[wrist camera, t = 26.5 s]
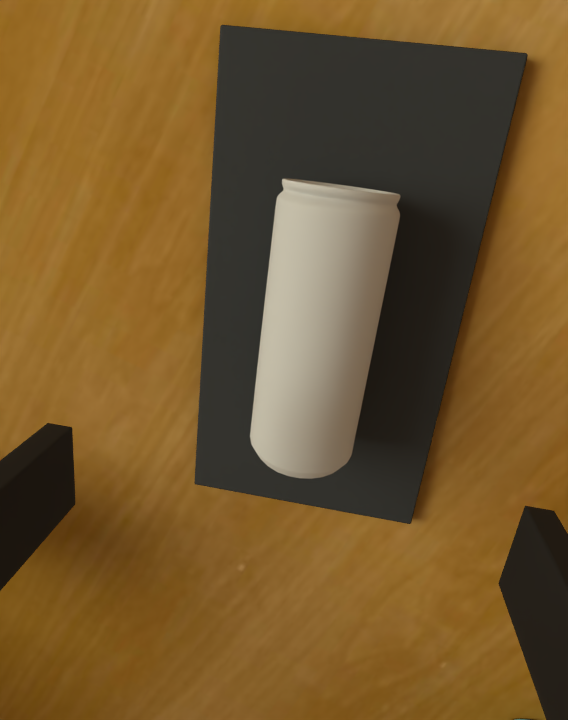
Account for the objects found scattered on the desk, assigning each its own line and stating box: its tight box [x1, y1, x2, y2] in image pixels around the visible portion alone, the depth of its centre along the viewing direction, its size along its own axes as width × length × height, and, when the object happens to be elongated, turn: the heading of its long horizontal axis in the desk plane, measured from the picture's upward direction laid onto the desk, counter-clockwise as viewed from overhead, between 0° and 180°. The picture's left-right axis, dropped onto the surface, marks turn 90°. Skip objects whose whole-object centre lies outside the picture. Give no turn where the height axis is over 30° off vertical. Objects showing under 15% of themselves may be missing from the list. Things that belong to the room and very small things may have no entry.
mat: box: [195, 25, 528, 524], centre depth 24 cm, size 22×12×1 cm, turn 174°
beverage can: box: [250, 179, 400, 479], centre depth 21 cm, size 5×5×12 cm
